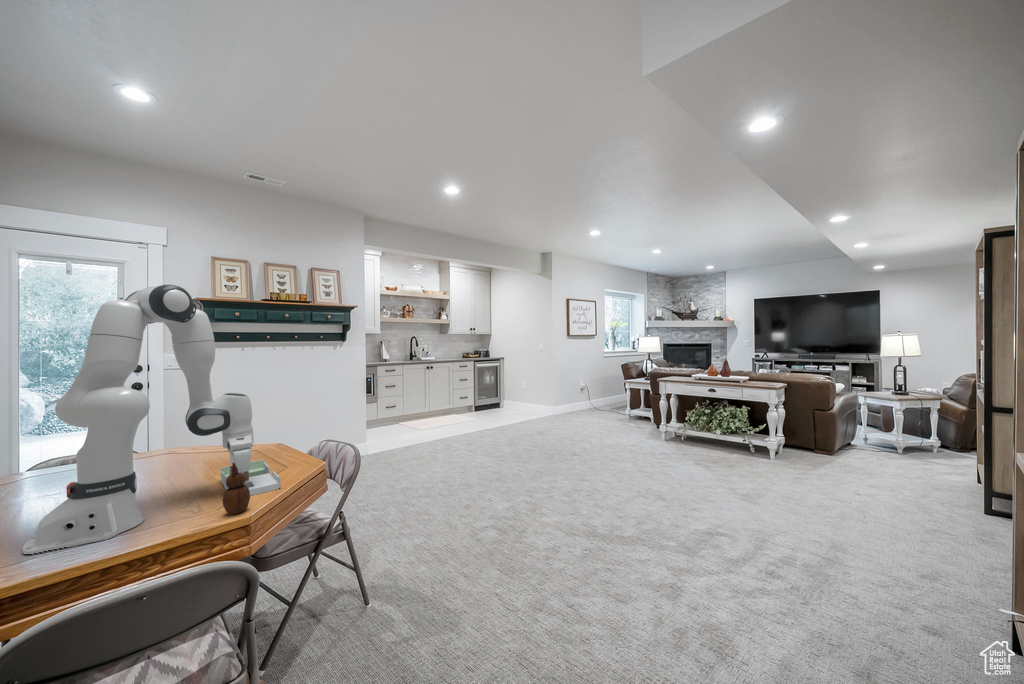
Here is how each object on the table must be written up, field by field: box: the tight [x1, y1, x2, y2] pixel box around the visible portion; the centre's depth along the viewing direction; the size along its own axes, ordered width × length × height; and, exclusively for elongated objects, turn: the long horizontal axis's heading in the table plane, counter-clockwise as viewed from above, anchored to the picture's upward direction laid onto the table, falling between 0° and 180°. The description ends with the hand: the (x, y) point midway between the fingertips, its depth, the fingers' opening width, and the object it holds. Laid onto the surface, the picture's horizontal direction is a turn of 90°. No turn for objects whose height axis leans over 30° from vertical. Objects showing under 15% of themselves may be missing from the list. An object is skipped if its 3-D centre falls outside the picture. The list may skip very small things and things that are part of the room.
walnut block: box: [229, 465, 249, 480], centre depth 146 cm, size 5×5×5 cm
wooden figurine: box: [222, 463, 251, 515], centre depth 122 cm, size 7×6×15 cm
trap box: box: [220, 459, 281, 497], centre depth 147 cm, size 14×28×5 cm, turn 41°
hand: (240, 480), depth 142 cm, fingers closed
